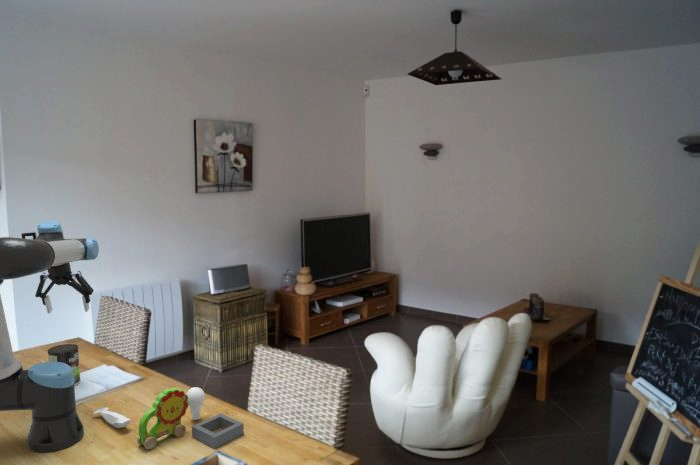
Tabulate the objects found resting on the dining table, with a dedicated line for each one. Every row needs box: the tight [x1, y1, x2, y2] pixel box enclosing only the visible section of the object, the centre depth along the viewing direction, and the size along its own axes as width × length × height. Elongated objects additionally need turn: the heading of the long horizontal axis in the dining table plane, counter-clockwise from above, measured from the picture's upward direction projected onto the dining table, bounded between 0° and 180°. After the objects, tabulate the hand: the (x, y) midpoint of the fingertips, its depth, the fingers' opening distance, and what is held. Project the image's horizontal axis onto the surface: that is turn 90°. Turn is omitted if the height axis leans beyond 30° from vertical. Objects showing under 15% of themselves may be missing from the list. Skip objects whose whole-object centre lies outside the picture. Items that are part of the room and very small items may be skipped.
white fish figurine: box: [92, 407, 132, 429], centre depth 174 cm, size 6×18×4 cm, turn 50°
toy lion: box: [136, 387, 189, 450], centre depth 163 cm, size 16×5×15 cm, turn 141°
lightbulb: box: [185, 386, 206, 421], centre depth 176 cm, size 6×6×11 cm
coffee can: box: [47, 343, 81, 387], centre depth 205 cm, size 10×10×14 cm
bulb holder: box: [191, 413, 245, 450], centre depth 166 cm, size 11×11×4 cm
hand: (68, 310), depth 207 cm, fingers open, 13 cm apart
